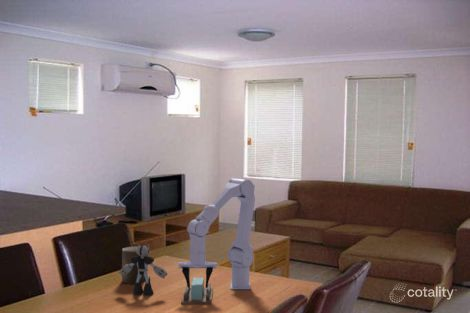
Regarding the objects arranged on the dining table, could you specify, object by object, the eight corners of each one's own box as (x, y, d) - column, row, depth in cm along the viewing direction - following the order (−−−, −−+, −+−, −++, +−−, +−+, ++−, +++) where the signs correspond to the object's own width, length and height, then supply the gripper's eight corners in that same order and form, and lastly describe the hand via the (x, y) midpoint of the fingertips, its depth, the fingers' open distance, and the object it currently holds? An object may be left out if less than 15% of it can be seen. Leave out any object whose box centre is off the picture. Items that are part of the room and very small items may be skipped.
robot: (117, 293, 195) (116, 242, 194) (122, 289, 199) (122, 240, 199) (164, 297, 191) (164, 245, 190) (169, 293, 195) (169, 242, 194)
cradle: (185, 290, 199) (185, 283, 199) (212, 290, 199) (213, 283, 199) (181, 304, 183) (181, 296, 183) (211, 304, 183) (211, 296, 183)
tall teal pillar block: (193, 289, 197) (193, 276, 197) (203, 289, 197) (203, 276, 197) (191, 299, 185) (191, 286, 185) (202, 299, 185) (202, 286, 185)
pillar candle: (142, 284, 207) (142, 248, 206) (119, 284, 207) (119, 247, 207) (147, 277, 217) (147, 243, 216) (124, 277, 217) (125, 243, 216)
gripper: (177, 254, 186) (177, 290, 187) (216, 254, 186) (216, 290, 187) (179, 249, 193) (179, 284, 194) (217, 249, 193) (217, 284, 194)
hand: (197, 286), depth 191 cm, fingers open, 6 cm apart
